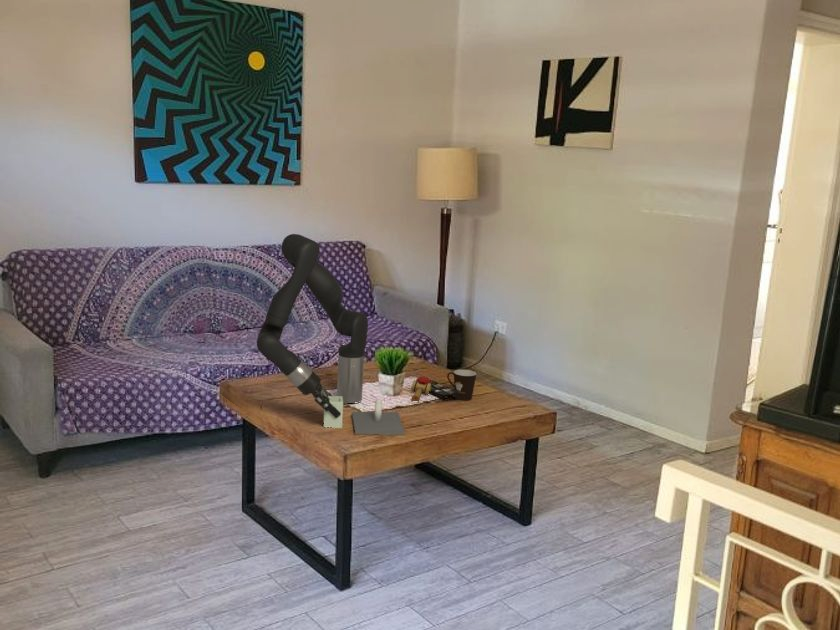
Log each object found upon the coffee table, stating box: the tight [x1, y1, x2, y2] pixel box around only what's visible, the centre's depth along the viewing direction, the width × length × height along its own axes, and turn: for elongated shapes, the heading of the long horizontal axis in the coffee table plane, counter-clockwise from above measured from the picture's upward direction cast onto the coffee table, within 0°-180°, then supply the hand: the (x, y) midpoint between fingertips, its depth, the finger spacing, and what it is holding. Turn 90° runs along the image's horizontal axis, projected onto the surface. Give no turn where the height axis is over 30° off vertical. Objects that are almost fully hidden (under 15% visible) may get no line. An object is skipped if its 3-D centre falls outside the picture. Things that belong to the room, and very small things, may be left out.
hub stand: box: [351, 398, 405, 436], centre depth 268 cm, size 18×16×9 cm
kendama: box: [410, 375, 432, 403], centre depth 303 cm, size 8×6×18 cm
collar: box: [322, 395, 344, 429], centre depth 265 cm, size 6×6×9 cm
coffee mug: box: [446, 369, 477, 402], centre depth 304 cm, size 12×9×10 cm
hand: (338, 412), depth 266 cm, fingers closed on collar, 6 cm apart
